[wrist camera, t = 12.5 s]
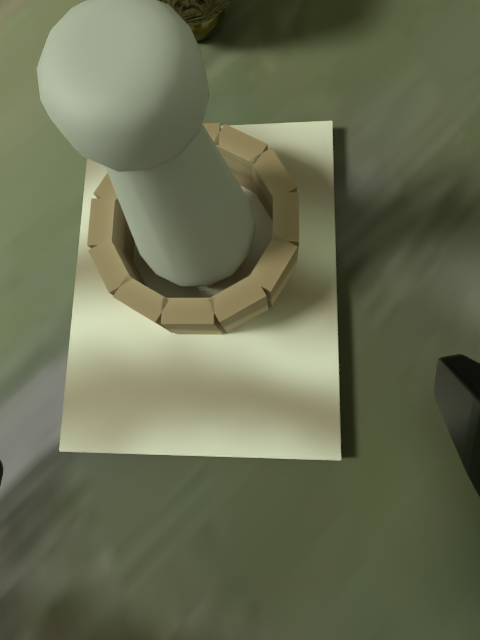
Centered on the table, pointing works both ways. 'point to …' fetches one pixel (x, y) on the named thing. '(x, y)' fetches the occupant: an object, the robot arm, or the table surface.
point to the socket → (214, 320)
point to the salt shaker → (149, 133)
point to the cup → (200, 15)
